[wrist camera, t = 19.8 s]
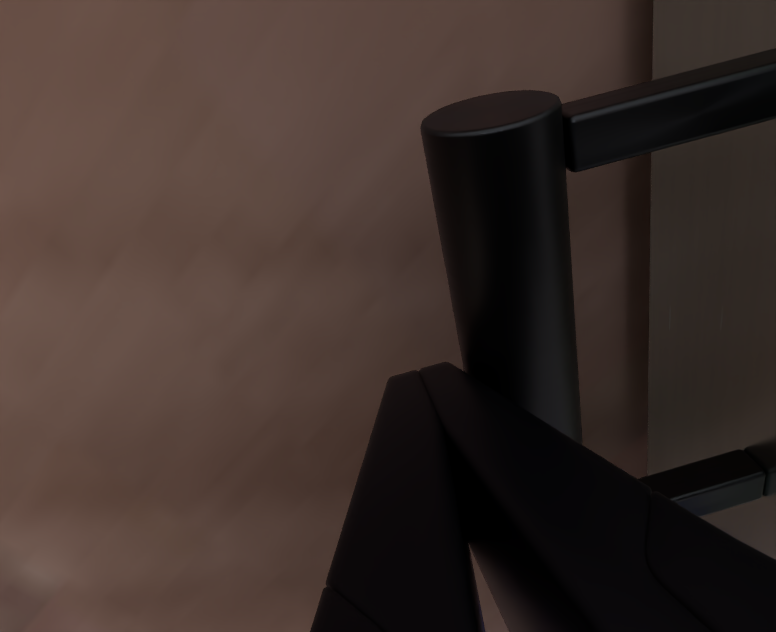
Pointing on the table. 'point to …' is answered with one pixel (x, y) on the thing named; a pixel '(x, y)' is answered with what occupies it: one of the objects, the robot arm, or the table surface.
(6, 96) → the table surface
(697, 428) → the drawer
